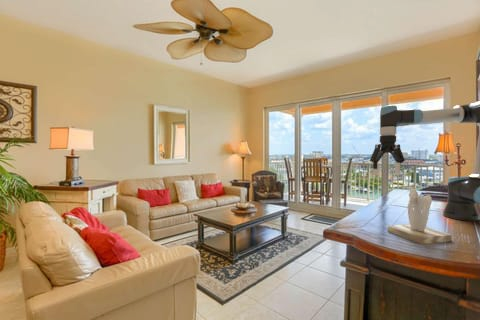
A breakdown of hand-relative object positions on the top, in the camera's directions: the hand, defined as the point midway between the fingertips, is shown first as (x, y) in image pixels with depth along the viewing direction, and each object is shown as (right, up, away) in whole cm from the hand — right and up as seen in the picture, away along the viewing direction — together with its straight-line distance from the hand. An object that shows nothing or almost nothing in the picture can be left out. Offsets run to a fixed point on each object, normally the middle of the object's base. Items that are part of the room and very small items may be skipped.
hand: (387, 174), depth 129 cm
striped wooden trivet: (-1, -25, -24) cm, 35 cm away
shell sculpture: (-1, -23, -24) cm, 33 cm away
